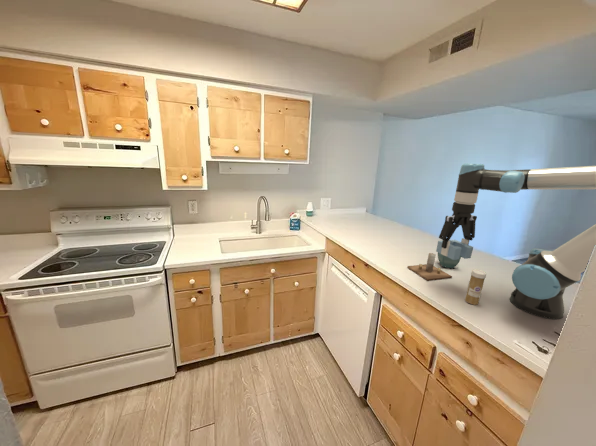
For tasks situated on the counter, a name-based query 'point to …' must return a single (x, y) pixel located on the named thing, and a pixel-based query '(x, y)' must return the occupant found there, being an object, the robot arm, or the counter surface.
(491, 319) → the counter surface
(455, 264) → the flower pot
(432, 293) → the counter surface
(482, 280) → the sprinkles bottle
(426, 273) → the post base
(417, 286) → the counter surface
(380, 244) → the counter surface
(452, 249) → the blue notched block
